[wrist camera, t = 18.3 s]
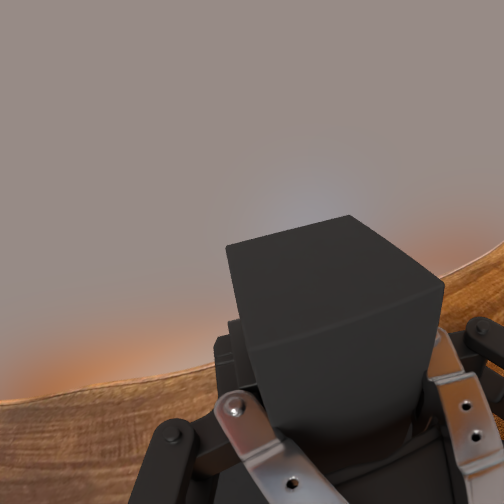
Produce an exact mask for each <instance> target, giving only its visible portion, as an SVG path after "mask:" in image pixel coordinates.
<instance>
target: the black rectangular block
mask: <svg viewBox="0 0 504 504" xmlns="http://www.w3.org/2000/svg"><path fill="white" fill-rule="evenodd" d="M226 253H227V258H228V264H229V269H230V273H231V279H232V283H233V288H234V293H235V298H236V303H237V308H238V312H239V316H240V322H241V326H242V331H243V336H244V340H245V345H246V349H247V353H248V356H249V359H250V363H251V366H252V369H253V372H254V375H255V378H256V382H257V385H258V388H259V391H260V394H261V397H262V400H263V403H264V406H265V409H266V412H267V415H268V418H269V421H270V424H271V426H272V427H277V426H278V428H279V429H280V430H281V432H282V433H283V434H284V435H285V436H286V437H287V438H291V439H292V440H293V441H294V442H295V443H296V444H297V445H298V446H299V447H300V448H301V450H302V451H303V452H304V453H305V454H306V456H307V457H308V458H309V459H310V460H311V462H312V463H313V464H314V465H315V466H316V467H317V468H318V470H319V471H320V472H321V473H322V474H326V473H329V472H332V471H335V470H338V469H341V468H344V467H347V466H349V465H356V464H362V463H368V462H373V461H378V460H383V459H385V458H387V457H388V456H390V455H391V454H392V453H393V452H395V451H396V450H397V449H398V448H400V447H401V446H402V445H403V443H404V440H405V438H406V435H407V433H408V430H409V427H410V425H411V418H410V416H411V413H412V410H413V409H415V408H416V407H417V404H418V401H419V398H420V395H421V392H422V389H423V385H422V382H421V380H422V377H423V373H424V371H425V370H427V369H428V367H429V364H430V360H431V356H432V352H433V347H434V343H435V338H436V334H437V329H438V324H439V319H440V313H441V308H442V302H443V295H444V288H445V284H444V282H443V281H441V280H440V279H439V278H437V277H436V276H435V275H434V274H432V273H431V272H429V271H428V270H427V269H426V268H424V267H423V266H422V265H420V264H419V263H418V262H416V261H415V260H414V259H412V258H411V257H410V256H408V255H407V254H406V253H404V252H403V251H401V250H400V249H399V248H397V247H396V246H394V245H393V244H392V243H390V242H389V241H387V240H386V239H385V238H383V237H382V236H380V235H379V234H377V233H376V232H375V231H373V230H371V229H370V228H369V227H367V226H366V225H364V224H362V223H361V222H360V221H358V220H357V219H355V218H354V217H352V216H350V215H347V216H343V217H339V218H334V219H331V220H326V221H323V222H318V223H314V224H310V225H307V226H302V227H298V228H294V229H290V230H286V231H282V232H278V233H274V234H271V235H266V236H262V237H258V238H255V239H251V240H247V241H243V242H239V243H235V244H231V245H227V246H226Z"/></svg>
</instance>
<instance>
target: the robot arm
mask: <svg viewBox="0 0 504 504" xmlns="http://www.w3.org/2000/svg"><path fill="white" fill-rule="evenodd" d="M228 328H229V334H228V335H224V336H220V337H218V338H217V340H216V342H215V344H214V357H215V366H216V367H215V370H216V380H217V389H218V400H217V401H216V403H215V406H214V409H213V410H212V411H211V412H210V413H208V414H207V415H206V416H204V417H202V418H200V419H198V420H195V421H193V422H191V423H189V422H188V421H186V420H184V419H179V418H174V419H169V420H167V421H164V422H163V423H161V424H160V425H159V426H158V427H157V428H156V430H155V431H154V433H153V436H152V439H151V441H150V444H149V447H148V449H147V452H146V455H145V457H144V460H143V463H142V466H141V468H140V471H139V474H138V476H137V479H136V482H135V485H134V487H133V490H132V493H131V496H130V499H129V501H128V504H214V499H215V494H216V490H217V485H218V480H219V475H220V472H222V471H224V470H226V469H228V468H230V467H232V466H234V465H236V464H238V463H240V462H242V463H243V464H244V466H245V467H246V469H247V471H248V472H249V474H250V475H251V477H252V478H253V480H254V481H255V483H256V484H257V486H258V487H259V489H260V490H261V492H262V493H263V495H264V496H265V498H266V499H267V501H268V502H269V504H504V440H501V438H500V435H499V432H498V429H497V426H496V423H495V420H494V418H493V415H492V412H493V413H494V414H495V415H497V416H498V417H500V418H501V419H502V420H504V377H502V376H501V375H499V374H498V373H496V372H495V371H493V370H491V369H490V368H488V367H487V366H486V364H487V361H488V360H489V361H491V362H492V363H494V364H496V365H497V366H499V367H500V368H502V369H504V327H503V326H501V325H500V324H498V323H496V322H494V321H492V320H490V319H488V318H485V317H475V318H472V319H470V320H469V321H468V323H467V325H466V329H465V330H464V331H458V332H453V333H447V332H446V331H445V330H444V329H442V328H440V327H438V329H437V334H436V338H435V343H434V347H433V352H432V356H431V360H430V364H429V367H428V369H427V370H425V371H424V373H423V377H422V380H421V382H422V385H423V389H422V392H421V395H420V398H419V401H418V404H417V407H416V408H415V409H413V410H412V413H411V416H410V418H411V423H412V437H411V439H409V440H408V441H407V442H406V443H405V444H403V445H402V446H401V447H400V448H398V449H397V450H396V451H395V452H393V453H392V454H391V455H390V456H388V457H387V458H385V459H383V460H378V461H373V462H368V463H362V464H356V465H349V466H347V467H344V468H341V469H338V470H335V471H332V472H329V473H326V474H322V473H321V472H320V471H319V470H318V468H317V467H316V466H315V465H314V464H313V463H312V462H311V460H310V459H309V458H308V457H307V456H306V454H305V453H304V452H303V451H302V450H301V448H300V447H299V446H298V445H297V444H296V443H295V442H294V441H293V440H292V439H291V438H287V437H286V436H285V435H284V434H283V433H282V432H281V430H280V429H279V428H278V426H277V427H272V426H271V424H270V421H269V418H268V415H267V412H266V409H265V406H264V403H263V400H262V397H261V394H260V391H259V388H258V385H257V382H256V378H255V375H254V372H253V369H252V366H251V363H250V359H249V356H248V353H247V349H246V345H245V340H244V336H243V331H242V326H241V322H240V319H236V320H232V321H228Z"/></svg>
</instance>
